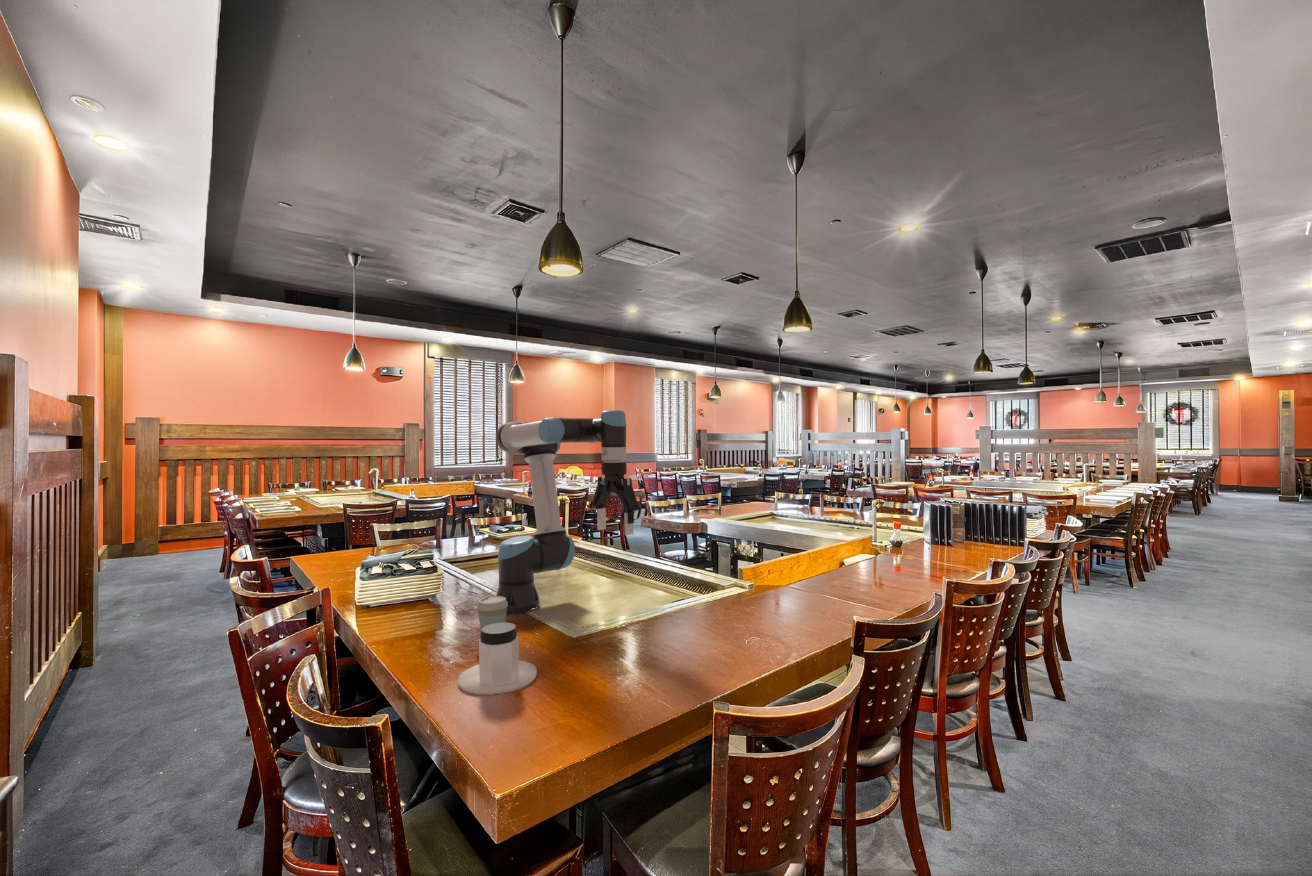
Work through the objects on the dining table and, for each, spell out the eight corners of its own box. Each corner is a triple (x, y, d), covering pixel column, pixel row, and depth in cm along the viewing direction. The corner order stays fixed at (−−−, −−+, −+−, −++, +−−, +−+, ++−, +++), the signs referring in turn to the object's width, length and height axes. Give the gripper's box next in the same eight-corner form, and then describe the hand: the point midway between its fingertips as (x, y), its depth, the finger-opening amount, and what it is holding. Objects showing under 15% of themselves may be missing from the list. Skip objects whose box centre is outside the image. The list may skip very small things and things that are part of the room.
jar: (490, 670, 138) (489, 621, 138) (522, 671, 137) (522, 622, 137) (474, 687, 129) (473, 633, 129) (509, 688, 128) (508, 634, 128)
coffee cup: (493, 635, 166) (493, 594, 166) (514, 640, 162) (514, 597, 162) (470, 644, 159) (469, 601, 159) (492, 649, 154) (491, 605, 154)
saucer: (446, 677, 136) (446, 673, 136) (514, 658, 148) (514, 654, 148) (478, 703, 123) (478, 698, 123) (550, 679, 135) (550, 674, 135)
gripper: (580, 461, 178) (581, 528, 178) (630, 462, 160) (631, 538, 160) (599, 460, 183) (600, 526, 183) (650, 462, 165) (651, 535, 165)
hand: (615, 532), depth 171 cm, fingers open, 13 cm apart
